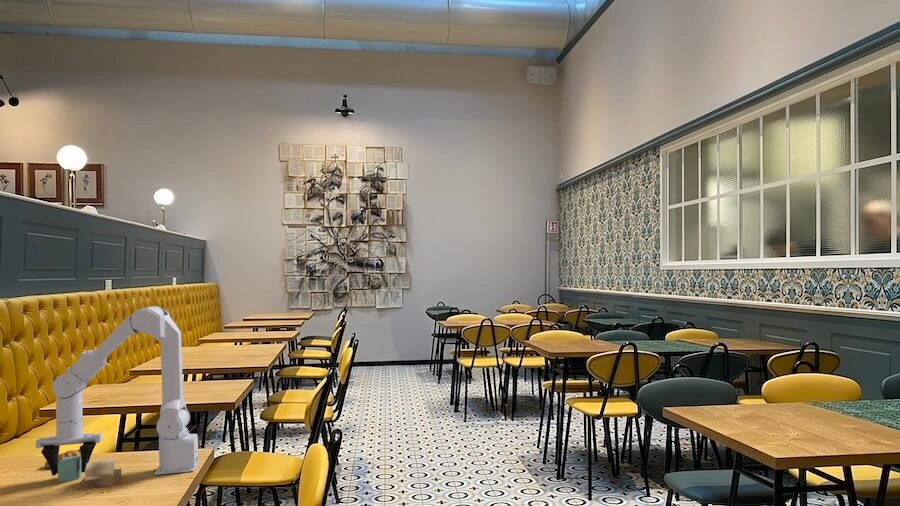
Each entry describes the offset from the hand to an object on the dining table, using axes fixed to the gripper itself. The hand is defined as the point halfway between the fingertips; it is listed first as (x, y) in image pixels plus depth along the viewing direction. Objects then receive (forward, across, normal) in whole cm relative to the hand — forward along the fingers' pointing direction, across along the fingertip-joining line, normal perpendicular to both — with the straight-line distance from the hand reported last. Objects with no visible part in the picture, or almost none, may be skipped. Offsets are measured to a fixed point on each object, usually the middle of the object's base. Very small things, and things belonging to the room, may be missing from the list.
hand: (69, 472), depth 149 cm
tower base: (+2, -9, +6) cm, 11 cm away
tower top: (0, -9, +6) cm, 10 cm away
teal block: (+2, 0, 0) cm, 2 cm away
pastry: (+2, +5, -13) cm, 14 cm away
